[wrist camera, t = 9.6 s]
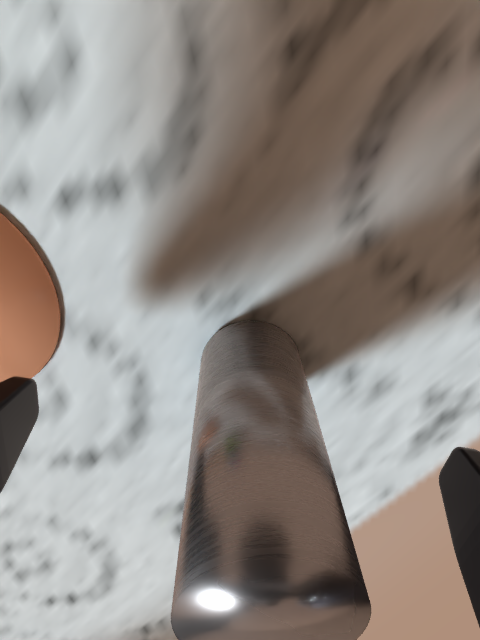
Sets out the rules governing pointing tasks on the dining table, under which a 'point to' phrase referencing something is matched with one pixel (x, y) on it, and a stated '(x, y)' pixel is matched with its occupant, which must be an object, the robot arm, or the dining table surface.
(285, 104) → the dining table surface
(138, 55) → the dining table surface
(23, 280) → the marker disc
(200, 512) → the steel peg
